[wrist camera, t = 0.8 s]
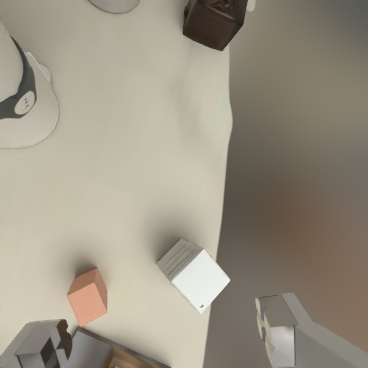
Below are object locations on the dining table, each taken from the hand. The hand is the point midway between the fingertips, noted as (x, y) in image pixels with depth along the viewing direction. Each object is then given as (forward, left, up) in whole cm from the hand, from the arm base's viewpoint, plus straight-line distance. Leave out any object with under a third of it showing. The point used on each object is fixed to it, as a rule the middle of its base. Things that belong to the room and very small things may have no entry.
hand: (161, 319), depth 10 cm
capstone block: (+1, -11, -38) cm, 39 cm away
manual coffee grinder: (-7, +47, -38) cm, 61 cm away
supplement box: (+14, 0, -38) cm, 40 cm away
